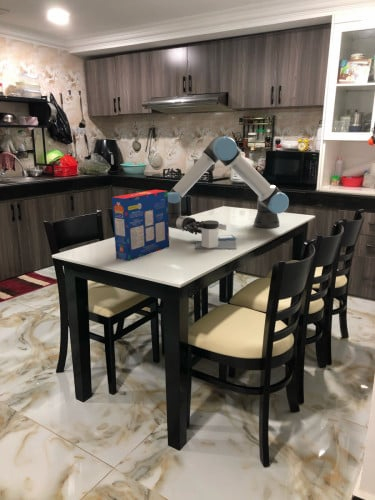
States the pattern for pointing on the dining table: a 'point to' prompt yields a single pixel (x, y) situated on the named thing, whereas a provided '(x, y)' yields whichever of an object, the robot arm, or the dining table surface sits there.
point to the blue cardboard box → (140, 223)
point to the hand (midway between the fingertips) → (217, 229)
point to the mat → (220, 246)
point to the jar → (210, 234)
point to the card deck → (226, 238)
